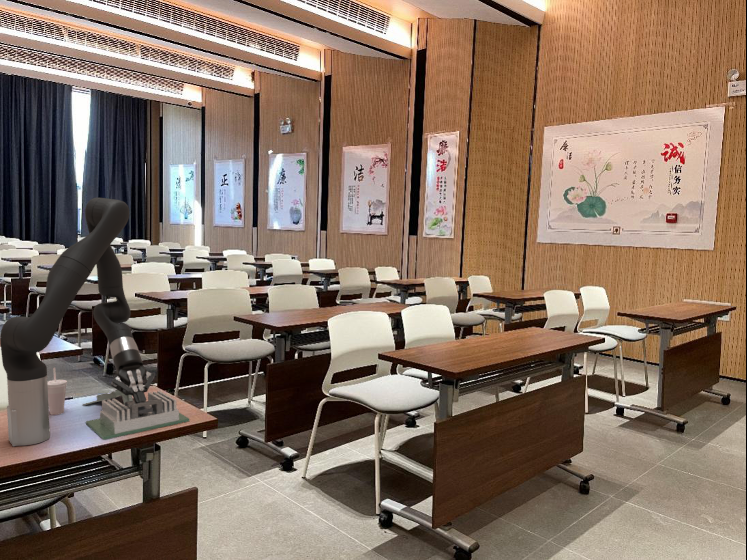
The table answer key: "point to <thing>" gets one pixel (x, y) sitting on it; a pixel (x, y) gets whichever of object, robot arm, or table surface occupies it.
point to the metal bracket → (112, 395)
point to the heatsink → (136, 416)
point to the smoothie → (56, 395)
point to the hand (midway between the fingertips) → (141, 404)
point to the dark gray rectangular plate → (140, 409)
